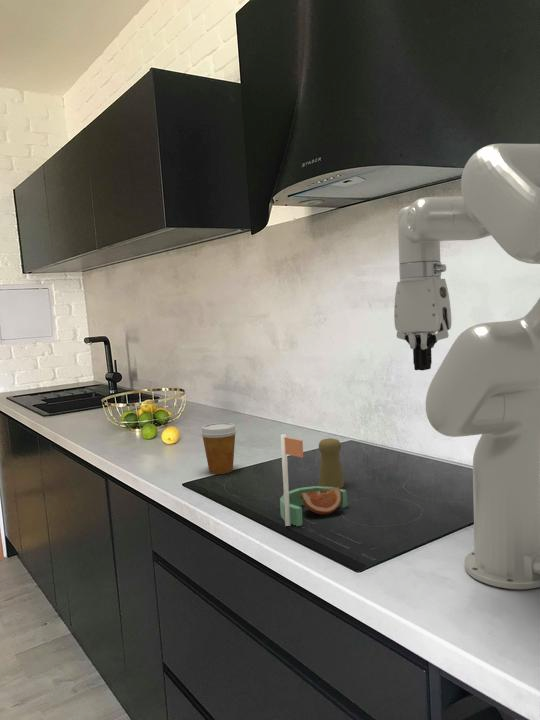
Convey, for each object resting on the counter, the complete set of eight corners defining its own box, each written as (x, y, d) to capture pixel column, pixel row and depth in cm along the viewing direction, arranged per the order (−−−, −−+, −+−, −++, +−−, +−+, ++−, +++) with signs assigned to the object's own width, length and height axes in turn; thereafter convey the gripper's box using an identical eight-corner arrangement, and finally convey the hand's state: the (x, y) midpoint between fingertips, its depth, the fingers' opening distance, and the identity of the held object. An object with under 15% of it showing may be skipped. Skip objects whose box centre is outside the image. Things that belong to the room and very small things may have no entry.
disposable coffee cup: (232, 464, 161) (230, 420, 160) (243, 472, 152) (241, 427, 151) (199, 469, 158) (196, 425, 157) (208, 478, 149) (205, 431, 148)
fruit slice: (306, 521, 116) (305, 496, 116) (296, 510, 123) (295, 487, 122) (346, 515, 118) (345, 491, 118) (334, 504, 125) (333, 482, 124)
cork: (349, 484, 138) (347, 438, 137) (334, 490, 134) (332, 443, 133) (328, 479, 142) (326, 435, 141) (313, 486, 138) (311, 440, 137)
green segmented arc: (358, 510, 120) (355, 423, 119) (304, 533, 110) (299, 438, 108) (315, 497, 130) (312, 417, 128) (261, 517, 119) (256, 430, 117)
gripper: (466, 269, 107) (468, 369, 109) (398, 275, 119) (401, 365, 120) (444, 269, 102) (447, 373, 104) (375, 275, 114) (379, 370, 115)
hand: (422, 369), depth 112 cm, fingers closed
